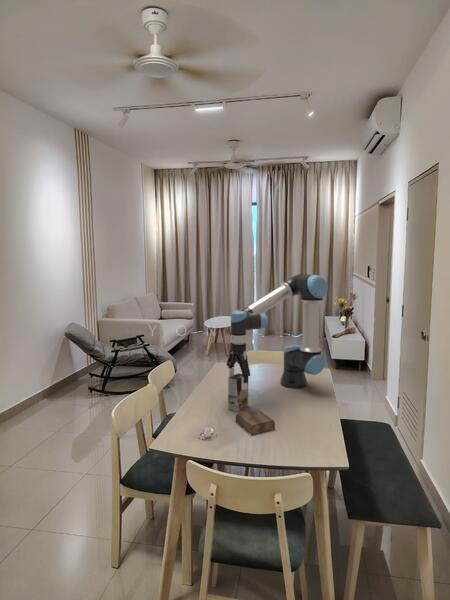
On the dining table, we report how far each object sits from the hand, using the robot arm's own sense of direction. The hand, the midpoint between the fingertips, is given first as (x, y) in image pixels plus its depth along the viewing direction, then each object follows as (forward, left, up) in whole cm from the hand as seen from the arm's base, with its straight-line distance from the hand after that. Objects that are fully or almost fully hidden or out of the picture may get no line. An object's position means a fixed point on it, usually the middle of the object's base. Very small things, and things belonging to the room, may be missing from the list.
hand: (237, 384), depth 190 cm
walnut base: (+3, +21, -12) cm, 24 cm away
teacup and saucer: (+23, +21, -13) cm, 33 cm away
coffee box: (0, 0, -12) cm, 12 cm away
